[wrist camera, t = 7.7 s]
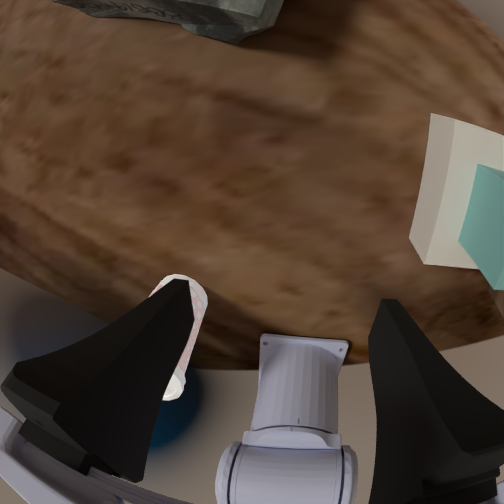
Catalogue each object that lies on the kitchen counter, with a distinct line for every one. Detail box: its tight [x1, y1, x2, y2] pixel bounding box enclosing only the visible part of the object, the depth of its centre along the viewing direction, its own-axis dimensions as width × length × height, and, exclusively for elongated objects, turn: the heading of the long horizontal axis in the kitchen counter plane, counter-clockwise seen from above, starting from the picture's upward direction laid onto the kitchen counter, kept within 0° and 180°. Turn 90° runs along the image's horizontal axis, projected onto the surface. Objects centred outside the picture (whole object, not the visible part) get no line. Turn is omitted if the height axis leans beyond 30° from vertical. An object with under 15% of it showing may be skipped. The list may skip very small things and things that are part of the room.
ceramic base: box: [409, 113, 504, 269], centre depth 15 cm, size 9×9×4 cm
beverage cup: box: [149, 274, 208, 400], centre depth 19 cm, size 6×6×14 cm
